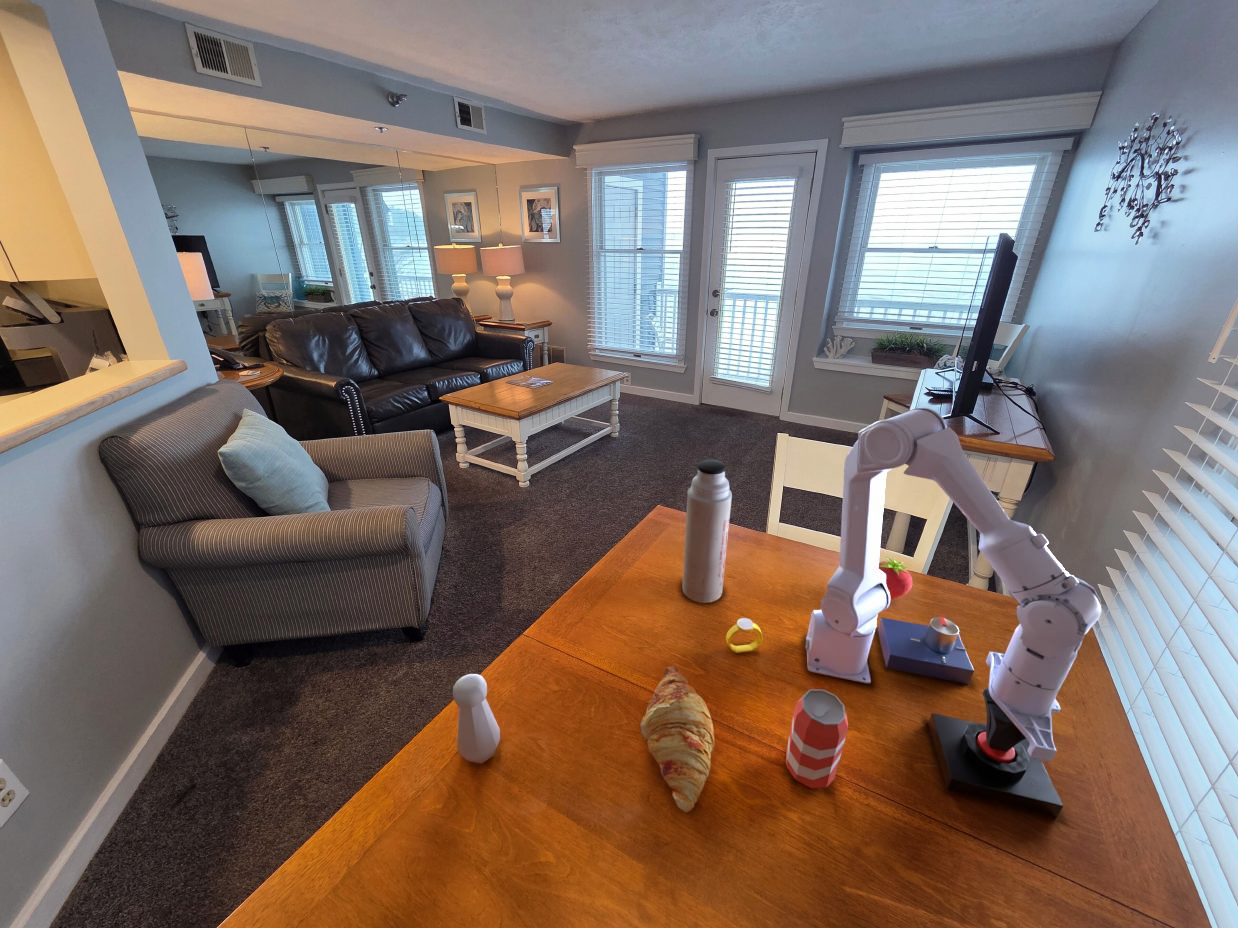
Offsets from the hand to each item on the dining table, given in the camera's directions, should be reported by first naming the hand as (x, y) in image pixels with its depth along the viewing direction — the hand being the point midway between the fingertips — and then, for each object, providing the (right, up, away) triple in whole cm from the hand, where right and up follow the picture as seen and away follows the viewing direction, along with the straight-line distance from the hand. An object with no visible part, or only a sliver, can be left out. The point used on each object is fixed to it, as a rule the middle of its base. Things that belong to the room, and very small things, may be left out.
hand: (996, 745), depth 66 cm
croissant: (-42, -3, +6) cm, 42 cm away
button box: (0, -4, +2) cm, 4 cm away
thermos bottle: (-33, +11, +35) cm, 50 cm away
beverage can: (-24, -4, +2) cm, 24 cm away
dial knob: (+4, +7, +17) cm, 19 cm away
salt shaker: (-69, -3, +5) cm, 69 cm away
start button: (0, -2, +1) cm, 2 cm away
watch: (-28, +5, +21) cm, 35 cm away
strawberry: (+3, +10, +32) cm, 34 cm away
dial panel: (+2, +4, +19) cm, 20 cm away
